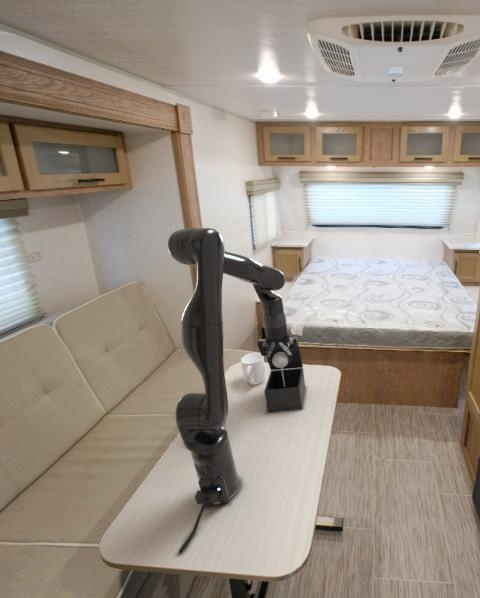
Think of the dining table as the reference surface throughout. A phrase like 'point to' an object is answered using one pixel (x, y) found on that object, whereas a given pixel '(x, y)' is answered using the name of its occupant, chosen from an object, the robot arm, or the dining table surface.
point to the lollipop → (280, 361)
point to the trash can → (285, 390)
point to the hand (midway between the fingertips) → (281, 363)
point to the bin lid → (296, 357)
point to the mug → (253, 367)
